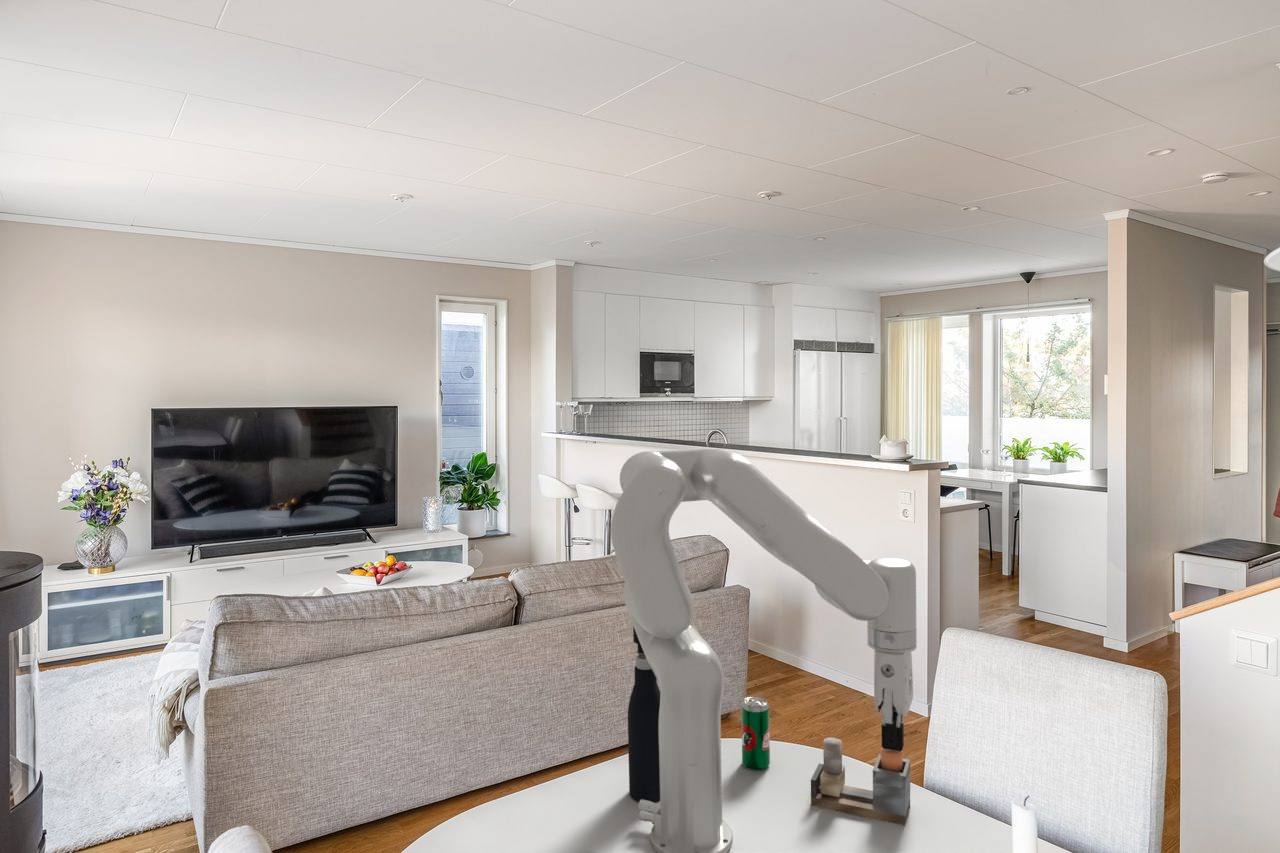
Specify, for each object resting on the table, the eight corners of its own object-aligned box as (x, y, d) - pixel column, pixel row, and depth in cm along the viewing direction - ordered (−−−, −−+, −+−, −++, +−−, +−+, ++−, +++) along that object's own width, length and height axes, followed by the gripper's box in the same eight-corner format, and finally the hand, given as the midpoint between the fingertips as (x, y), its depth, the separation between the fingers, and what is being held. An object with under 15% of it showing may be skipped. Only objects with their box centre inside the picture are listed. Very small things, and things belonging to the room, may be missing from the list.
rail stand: (811, 805, 134) (810, 758, 133) (819, 788, 139) (818, 743, 138) (905, 825, 127) (905, 776, 127) (910, 807, 132) (910, 759, 132)
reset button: (879, 769, 130) (879, 753, 129) (882, 759, 133) (882, 744, 132) (901, 773, 128) (901, 757, 128) (904, 763, 131) (904, 748, 131)
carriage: (820, 793, 133) (820, 746, 133) (827, 779, 138) (826, 733, 137) (838, 797, 132) (838, 749, 131) (844, 782, 136) (844, 736, 136)
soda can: (769, 772, 145) (768, 707, 144) (741, 770, 146) (740, 705, 145) (770, 759, 150) (769, 696, 149) (743, 757, 151) (742, 694, 150)
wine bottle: (624, 800, 136) (620, 626, 134) (635, 782, 143) (632, 615, 141) (661, 805, 135) (657, 629, 133) (670, 786, 141) (667, 618, 139)
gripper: (910, 654, 121) (911, 773, 122) (921, 625, 134) (922, 732, 135) (859, 648, 124) (860, 764, 125) (875, 620, 137) (876, 725, 139)
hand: (892, 747), depth 130 cm, fingers closed
